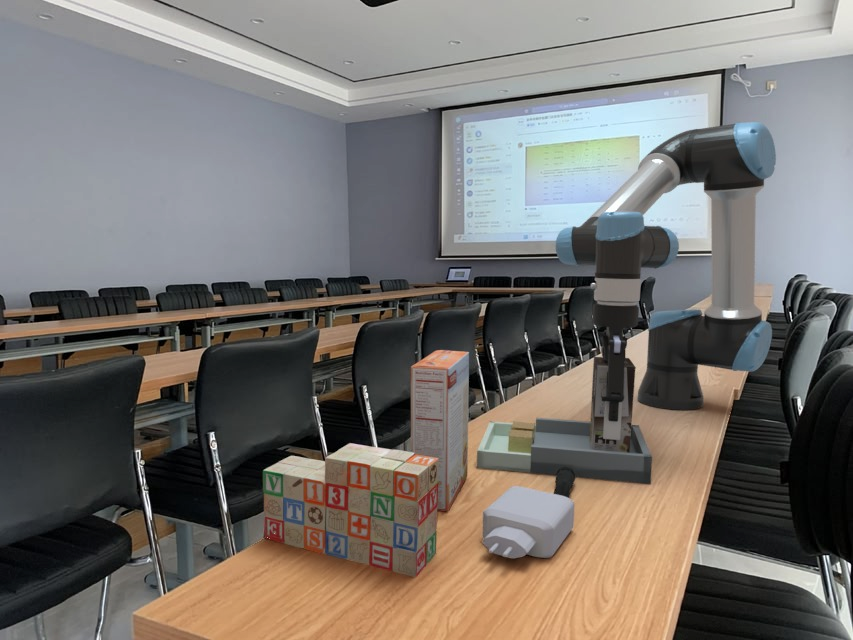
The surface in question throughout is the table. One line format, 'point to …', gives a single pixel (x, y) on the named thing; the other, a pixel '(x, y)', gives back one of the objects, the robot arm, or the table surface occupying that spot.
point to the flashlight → (564, 481)
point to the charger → (527, 523)
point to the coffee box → (598, 407)
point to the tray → (501, 450)
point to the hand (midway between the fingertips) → (609, 430)
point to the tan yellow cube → (520, 441)
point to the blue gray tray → (587, 453)
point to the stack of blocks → (356, 506)
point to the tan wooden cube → (524, 427)
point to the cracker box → (442, 418)
